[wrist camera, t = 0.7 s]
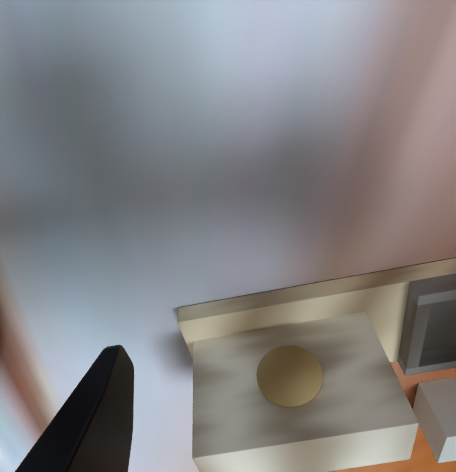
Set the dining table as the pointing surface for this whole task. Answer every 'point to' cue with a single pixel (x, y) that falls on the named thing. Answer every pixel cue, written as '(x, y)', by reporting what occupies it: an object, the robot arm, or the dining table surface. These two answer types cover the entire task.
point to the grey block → (438, 416)
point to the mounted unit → (317, 370)
